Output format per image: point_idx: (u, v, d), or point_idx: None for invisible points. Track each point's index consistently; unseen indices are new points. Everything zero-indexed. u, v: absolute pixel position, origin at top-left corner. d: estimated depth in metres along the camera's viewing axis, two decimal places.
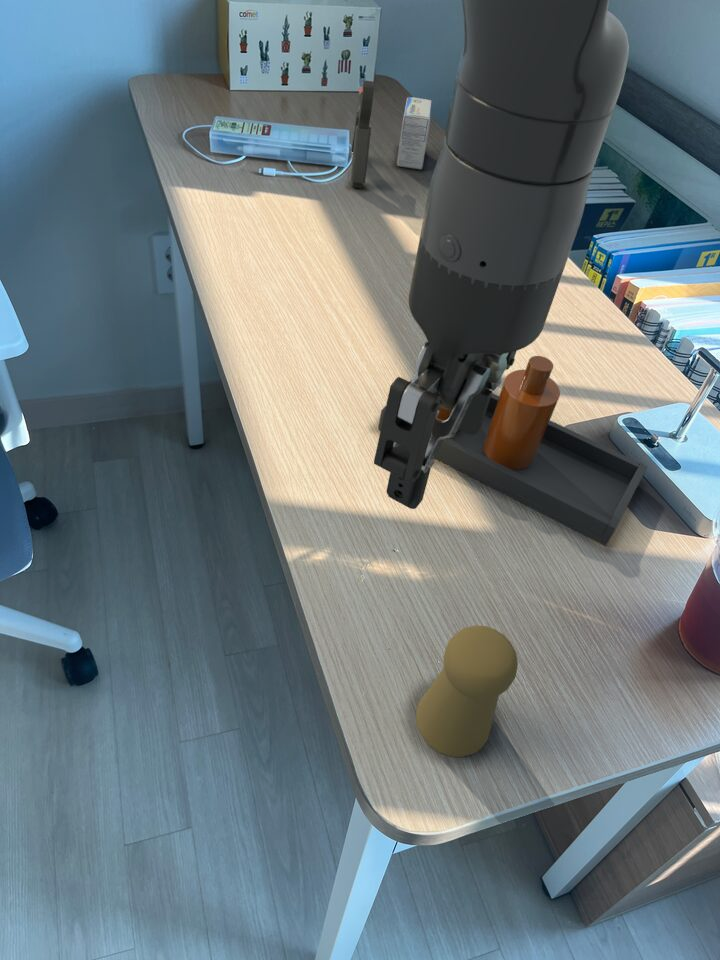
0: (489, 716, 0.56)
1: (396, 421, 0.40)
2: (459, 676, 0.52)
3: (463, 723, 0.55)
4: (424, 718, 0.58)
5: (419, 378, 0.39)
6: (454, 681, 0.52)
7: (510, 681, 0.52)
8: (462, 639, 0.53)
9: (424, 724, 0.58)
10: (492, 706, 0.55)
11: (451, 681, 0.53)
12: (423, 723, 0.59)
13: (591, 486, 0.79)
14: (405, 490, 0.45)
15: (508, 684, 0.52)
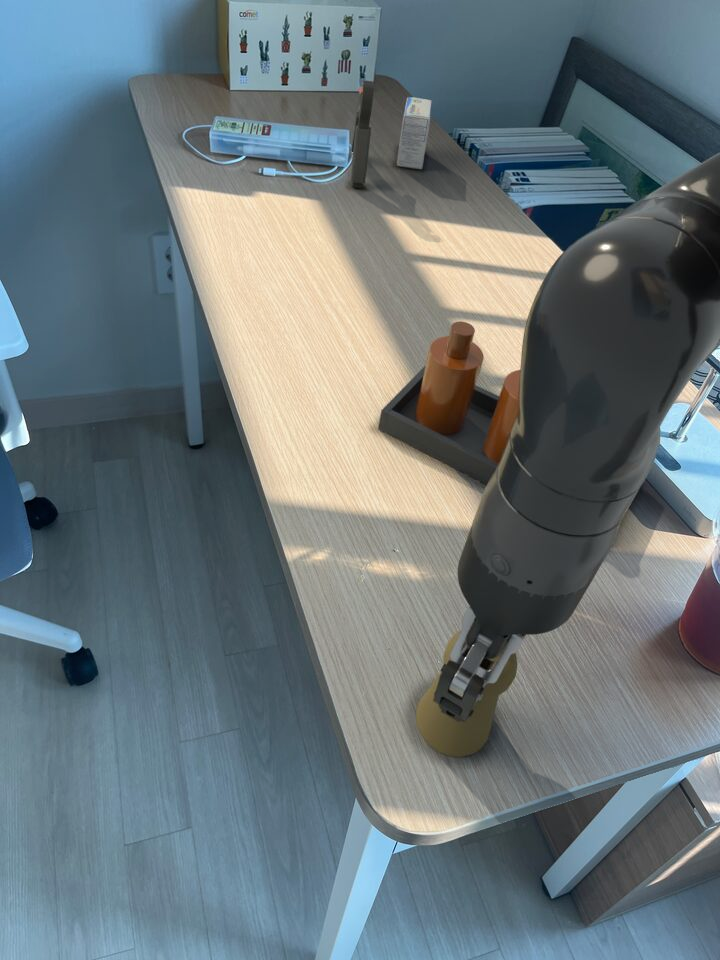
0: (489, 716, 0.56)
1: (448, 690, 0.46)
2: None
3: (463, 723, 0.55)
4: (424, 718, 0.58)
5: (466, 659, 0.45)
6: None
7: (510, 681, 0.52)
8: None
9: (424, 724, 0.58)
10: (492, 706, 0.55)
11: None
12: (423, 723, 0.59)
13: None
14: None
15: (508, 684, 0.52)
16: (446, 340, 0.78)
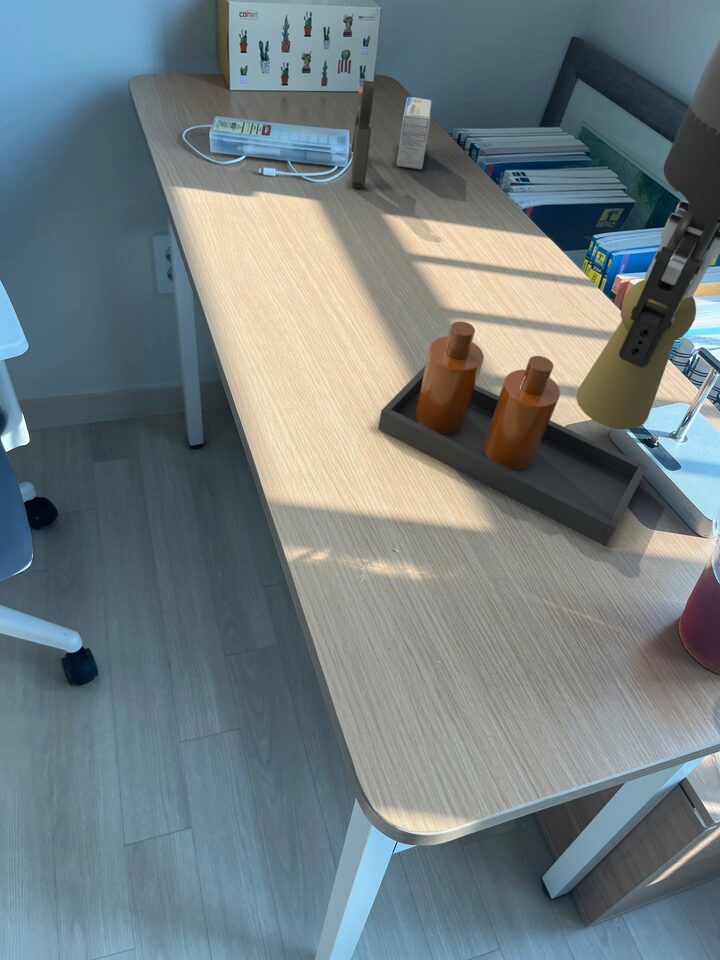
0: (659, 376, 0.58)
1: (658, 283, 0.48)
2: None
3: (636, 381, 0.57)
4: (589, 393, 0.60)
5: (680, 245, 0.47)
6: None
7: (692, 319, 0.54)
8: (643, 284, 0.55)
9: (589, 399, 0.60)
10: (665, 362, 0.57)
11: None
12: (588, 399, 0.61)
13: (591, 486, 0.79)
14: (644, 347, 0.54)
15: (690, 322, 0.54)
16: (446, 340, 0.78)
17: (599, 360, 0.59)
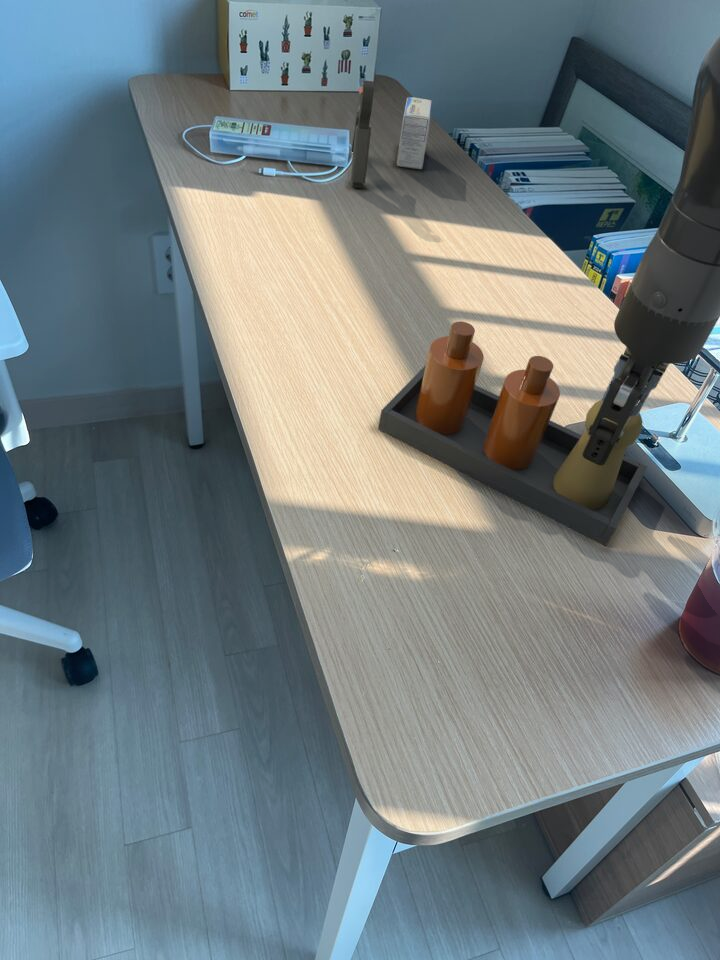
0: (616, 471, 0.74)
1: (611, 405, 0.63)
2: None
3: (598, 475, 0.74)
4: (563, 481, 0.77)
5: (627, 378, 0.63)
6: None
7: (638, 432, 0.71)
8: (601, 404, 0.71)
9: (562, 486, 0.77)
10: (620, 461, 0.74)
11: None
12: (561, 485, 0.77)
13: None
14: (601, 452, 0.68)
15: (637, 434, 0.71)
16: (446, 340, 0.78)
17: (570, 456, 0.76)
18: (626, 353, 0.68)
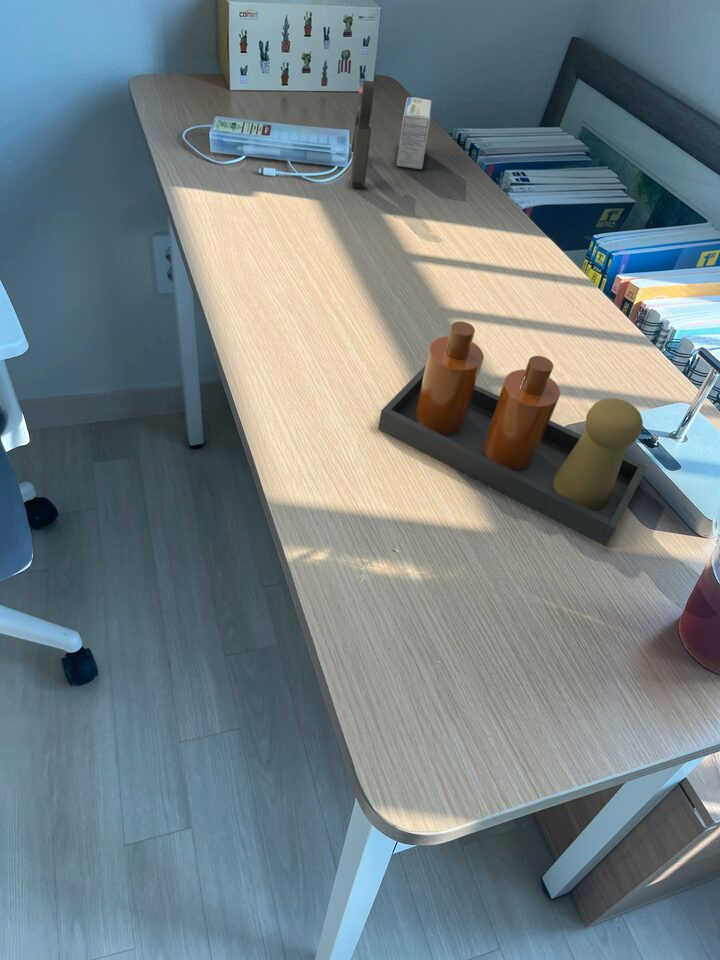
0: (616, 471, 0.74)
1: None
2: (601, 427, 0.70)
3: (598, 475, 0.74)
4: (563, 481, 0.77)
5: None
6: (597, 433, 0.71)
7: (638, 432, 0.71)
8: (601, 404, 0.71)
9: (562, 486, 0.77)
10: (620, 461, 0.74)
11: (593, 435, 0.71)
12: (561, 485, 0.77)
13: None
14: None
15: (637, 434, 0.71)
16: (446, 340, 0.78)
17: (570, 456, 0.76)
18: None
